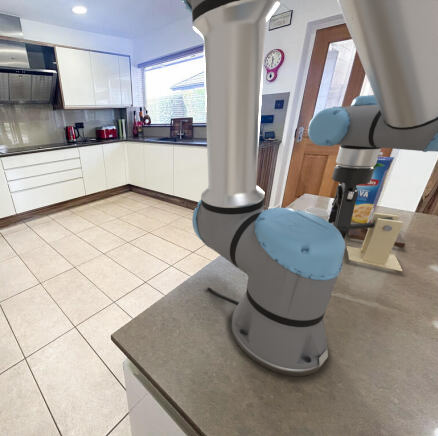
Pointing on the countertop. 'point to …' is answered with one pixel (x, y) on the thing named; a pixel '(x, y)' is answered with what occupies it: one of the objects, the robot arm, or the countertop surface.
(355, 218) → the beverage box
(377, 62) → the robot arm
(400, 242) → the control block
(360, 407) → the countertop surface
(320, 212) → the teacup
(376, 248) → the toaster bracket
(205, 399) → the countertop surface
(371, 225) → the lever
